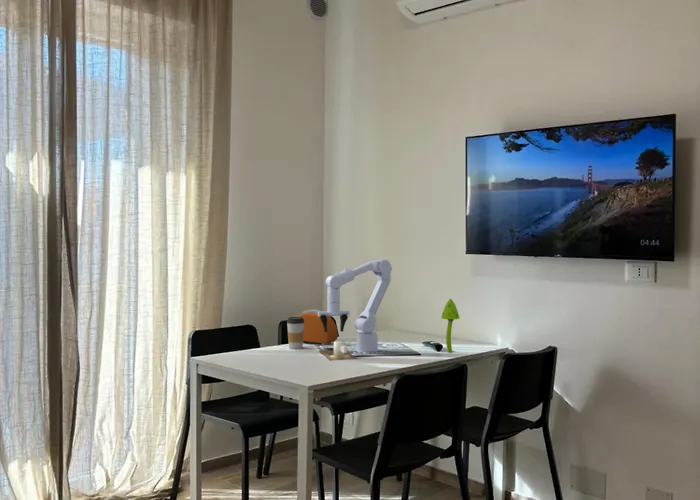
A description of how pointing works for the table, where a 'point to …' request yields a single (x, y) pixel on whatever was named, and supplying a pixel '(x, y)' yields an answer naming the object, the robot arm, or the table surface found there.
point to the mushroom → (449, 320)
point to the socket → (329, 351)
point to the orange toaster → (318, 328)
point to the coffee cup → (295, 332)
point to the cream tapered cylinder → (339, 348)
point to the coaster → (340, 357)
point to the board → (337, 359)
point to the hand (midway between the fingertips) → (333, 331)
